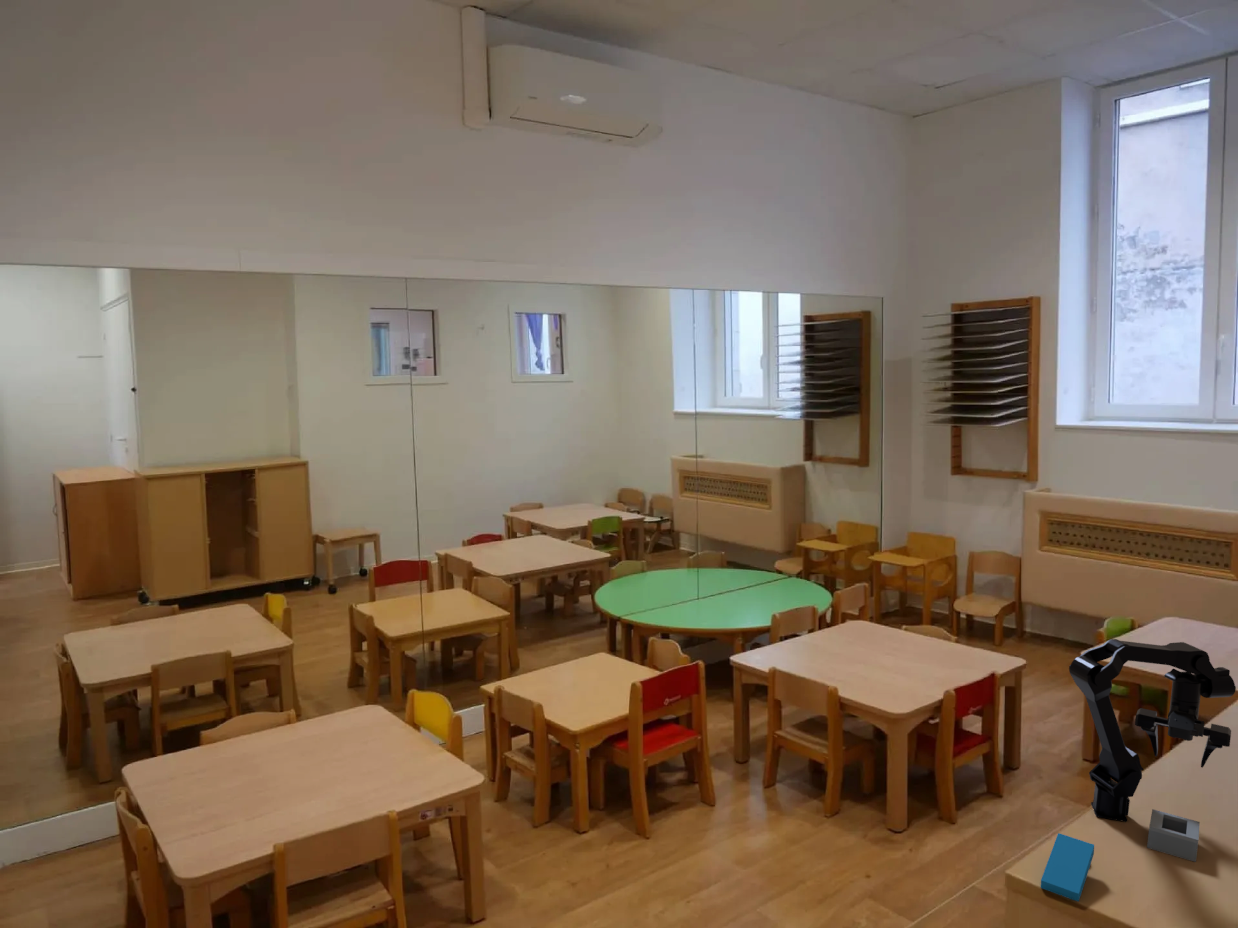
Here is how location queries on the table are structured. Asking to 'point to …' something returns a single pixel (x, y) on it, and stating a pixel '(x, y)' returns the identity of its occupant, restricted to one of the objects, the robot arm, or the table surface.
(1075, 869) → the blue rectangular box
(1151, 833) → the posting box
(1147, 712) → the robot arm
